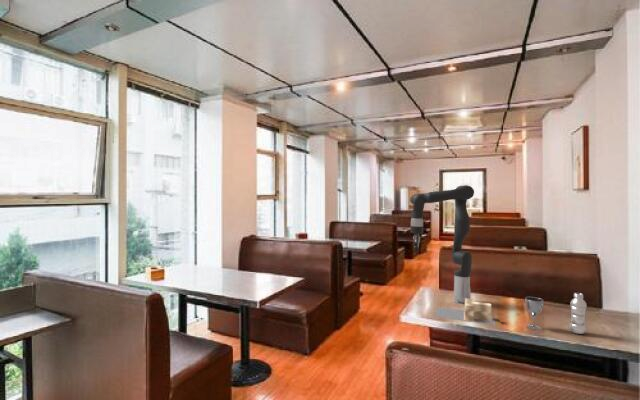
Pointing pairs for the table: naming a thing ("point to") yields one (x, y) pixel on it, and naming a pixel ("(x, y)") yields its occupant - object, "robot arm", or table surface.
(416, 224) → the robot arm
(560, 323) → the table surface
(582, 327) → the plastic bottle
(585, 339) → the table surface
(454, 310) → the T board
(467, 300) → the maple T block
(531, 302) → the wine glass
